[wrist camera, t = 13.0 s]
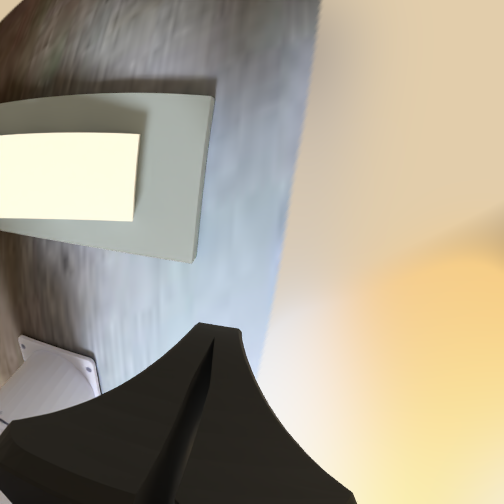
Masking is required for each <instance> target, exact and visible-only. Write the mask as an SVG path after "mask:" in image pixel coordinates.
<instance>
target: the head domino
mask: <svg viewBox="0 0 504 504" xmlns="http://www.w3.org/2000/svg"><path fill="white" fill-rule="evenodd" d="M140 136H141V134H125V133H33V134H14V135H0V218H30V219H74V220H106V221H133V218H134V209H135V192H136V178H137V166H138V155H139V146H140Z"/></svg>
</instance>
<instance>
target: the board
mask: <svg viewBox="0 0 504 504" xmlns="http://www.w3.org/2000/svg"><path fill="white" fill-rule="evenodd" d="M214 103H215V99H214V98H213V97H212V96H203V95H188V94H168V93H100V94H80V95H66V96H54V97H44V98H35V99H27V100H20V101H13V102H7V103H0V135H14V134H33V133H125V134H141V136H140V146H139V155H138V166H137V178H136V192H135V209H134V218H133V221H106V220H74V219H30V218H0V231H5V232H11V233H16V234H21V235H27V236H32V237H38V238H43V239H49V240H54V241H60V242H65V243H71V244H77V245H83V246H88V247H94V248H100V249H106V250H112V251H118V252H123V253H129V254H135V255H142V256H148V257H154V258H160V259H166V260H172V261H179V262H185V263H191V264H192V263H193V261H194V259H195V258H196V255H197V244H198V234H199V223H200V214H201V204H202V195H203V186H204V178H205V169H206V161H207V153H208V146H209V138H210V131H211V124H212V117H213V110H214Z"/></svg>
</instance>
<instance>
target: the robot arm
mask: <svg viewBox="0 0 504 504" xmlns="http://www.w3.org/2000/svg"><path fill="white" fill-rule="evenodd" d="M18 340H19V344H20V348H21V351H22V355H23V358H24V363H23V364H22V365H21V366H20V367H19V369H18V370H17V371H16V372H15V373H14V374H13V375H12V376H11V377H10V378H9V380H8V381H7V382H6V383H5V384H4V385H3V386H2V387H1V389H0V504H357V502H356V500H355V497H354V495H353V493H352V492H351V491H350V490H348V489H347V488H346V487H344V486H343V485H342V484H340V483H339V482H338V481H337V480H335V479H334V478H333V477H331V476H330V475H329V474H327V473H326V472H325V471H324V470H323V469H322V468H321V467H320V466H319V465H318V464H317V463H316V462H315V461H314V460H312V459H311V457H309V456H308V455H307V454H306V452H304V450H303V449H302V448H301V447H300V446H299V444H298V443H297V442H296V441H295V440H294V439H293V437H292V436H291V435H290V434H289V433H288V432H287V430H286V429H285V428H284V427H283V425H282V424H281V422H280V421H279V419H278V418H277V417H276V415H275V413H274V412H273V410H272V409H271V407H270V406H269V404H268V402H267V401H266V399H265V397H264V395H263V393H262V391H261V390H260V387H259V386H258V383H257V381H256V379H255V377H254V375H253V372H252V370H251V367H250V365H249V362H248V359H247V356H246V353H245V349H244V346H243V341H242V332H241V331H240V330H239V329H237V328H231V327H224V326H218V325H212V324H206V323H200V322H199V323H198V324H196V325H195V326H194V327H193V328H192V329H191V330H190V331H189V332H188V333H187V334H186V335H185V336H184V337H183V338H182V339H181V340H180V341H179V342H178V343H177V344H176V345H175V346H174V347H173V348H171V349H170V350H169V351H168V352H167V353H166V354H165V355H163V356H162V357H161V358H160V359H158V360H157V361H156V362H154V363H153V364H152V365H150V366H149V367H148V368H146V369H145V370H144V371H142V372H141V373H139V374H138V375H136V376H135V377H133V378H132V379H130V380H128V381H127V382H125V383H123V384H122V385H120V386H118V387H116V388H114V389H112V390H110V391H108V392H106V393H104V394H102V395H101V393H100V388H99V382H98V377H97V371H96V366H95V362H94V361H93V360H92V359H91V358H89V357H86V356H83V355H79V354H76V353H73V352H70V351H67V350H64V349H61V348H58V347H55V346H52V345H49V344H46V343H43V342H40V341H37V340H35V339H32V338H29V337H27V336H24V335H21V336H19V338H18Z"/></svg>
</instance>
